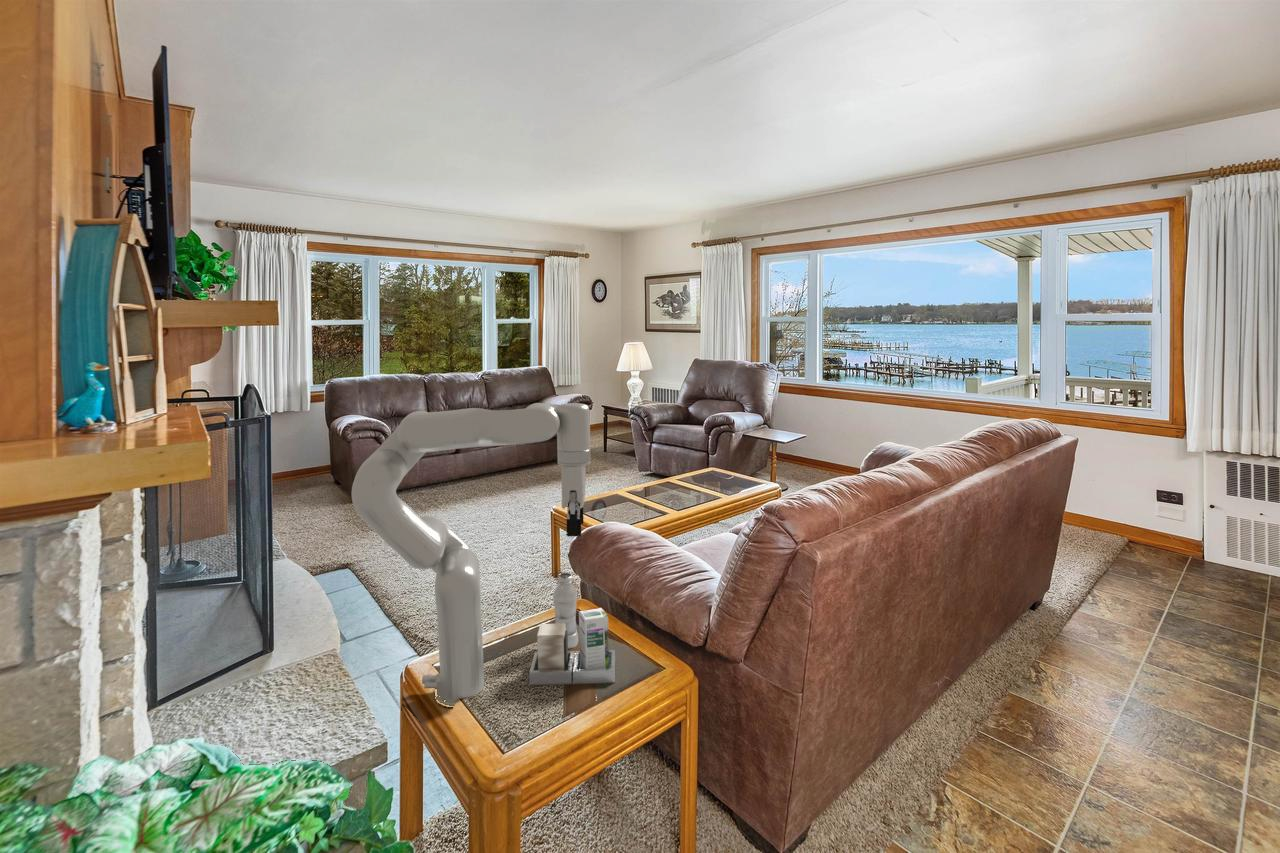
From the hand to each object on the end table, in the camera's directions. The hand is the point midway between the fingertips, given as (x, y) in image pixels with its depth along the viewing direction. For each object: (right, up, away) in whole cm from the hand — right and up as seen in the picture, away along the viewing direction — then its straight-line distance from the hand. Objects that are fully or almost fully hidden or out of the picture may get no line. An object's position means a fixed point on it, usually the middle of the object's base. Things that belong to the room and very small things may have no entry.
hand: (575, 529), depth 143 cm
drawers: (-1, -36, +3) cm, 36 cm away
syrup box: (+4, -35, +4) cm, 35 cm away
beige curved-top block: (-6, -35, +3) cm, 35 cm away
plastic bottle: (-4, -35, +18) cm, 39 cm away
